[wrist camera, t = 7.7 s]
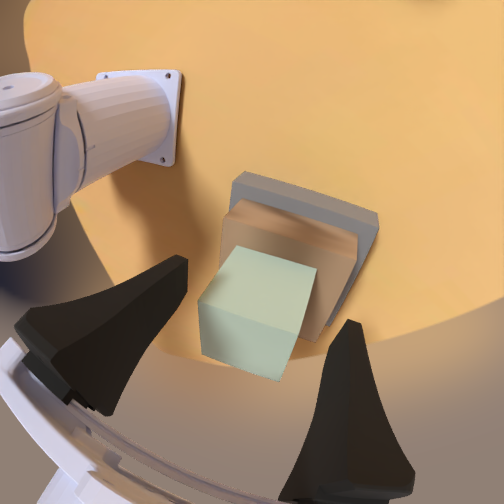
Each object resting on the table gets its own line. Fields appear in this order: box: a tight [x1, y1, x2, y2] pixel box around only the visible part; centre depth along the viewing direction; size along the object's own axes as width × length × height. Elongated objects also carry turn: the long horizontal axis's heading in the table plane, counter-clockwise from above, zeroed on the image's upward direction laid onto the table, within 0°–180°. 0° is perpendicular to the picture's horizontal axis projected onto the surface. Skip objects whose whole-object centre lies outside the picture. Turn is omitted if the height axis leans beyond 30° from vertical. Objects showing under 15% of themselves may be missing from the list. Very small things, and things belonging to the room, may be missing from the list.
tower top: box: [219, 198, 358, 343], centre depth 19 cm, size 8×8×3 cm
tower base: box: [229, 171, 379, 326], centre depth 21 cm, size 10×10×3 cm
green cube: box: [198, 245, 317, 382], centre depth 16 cm, size 5×5×5 cm
